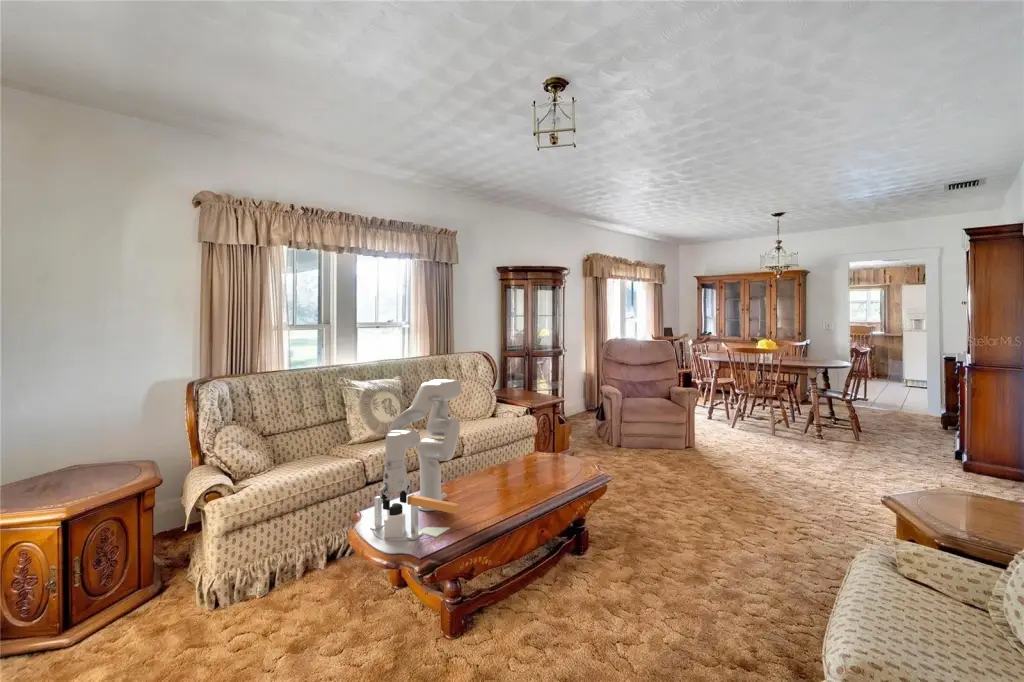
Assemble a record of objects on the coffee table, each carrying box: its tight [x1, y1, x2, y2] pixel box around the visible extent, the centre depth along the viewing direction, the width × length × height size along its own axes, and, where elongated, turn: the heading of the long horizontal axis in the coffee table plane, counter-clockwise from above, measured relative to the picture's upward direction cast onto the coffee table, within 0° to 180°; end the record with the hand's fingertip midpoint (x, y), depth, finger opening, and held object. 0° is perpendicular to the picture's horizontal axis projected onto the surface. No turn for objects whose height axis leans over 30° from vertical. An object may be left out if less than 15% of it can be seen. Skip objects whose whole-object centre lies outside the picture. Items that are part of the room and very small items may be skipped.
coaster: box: [418, 526, 450, 538], centre depth 191 cm, size 10×10×1 cm
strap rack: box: [369, 495, 424, 542], centre depth 190 cm, size 6×23×13 cm, turn 61°
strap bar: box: [406, 494, 460, 515], centre depth 180 cm, size 3×23×3 cm, turn 61°
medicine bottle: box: [383, 502, 407, 539], centre depth 188 cm, size 7×7×12 cm
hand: (394, 505), depth 189 cm, fingers open, 9 cm apart
